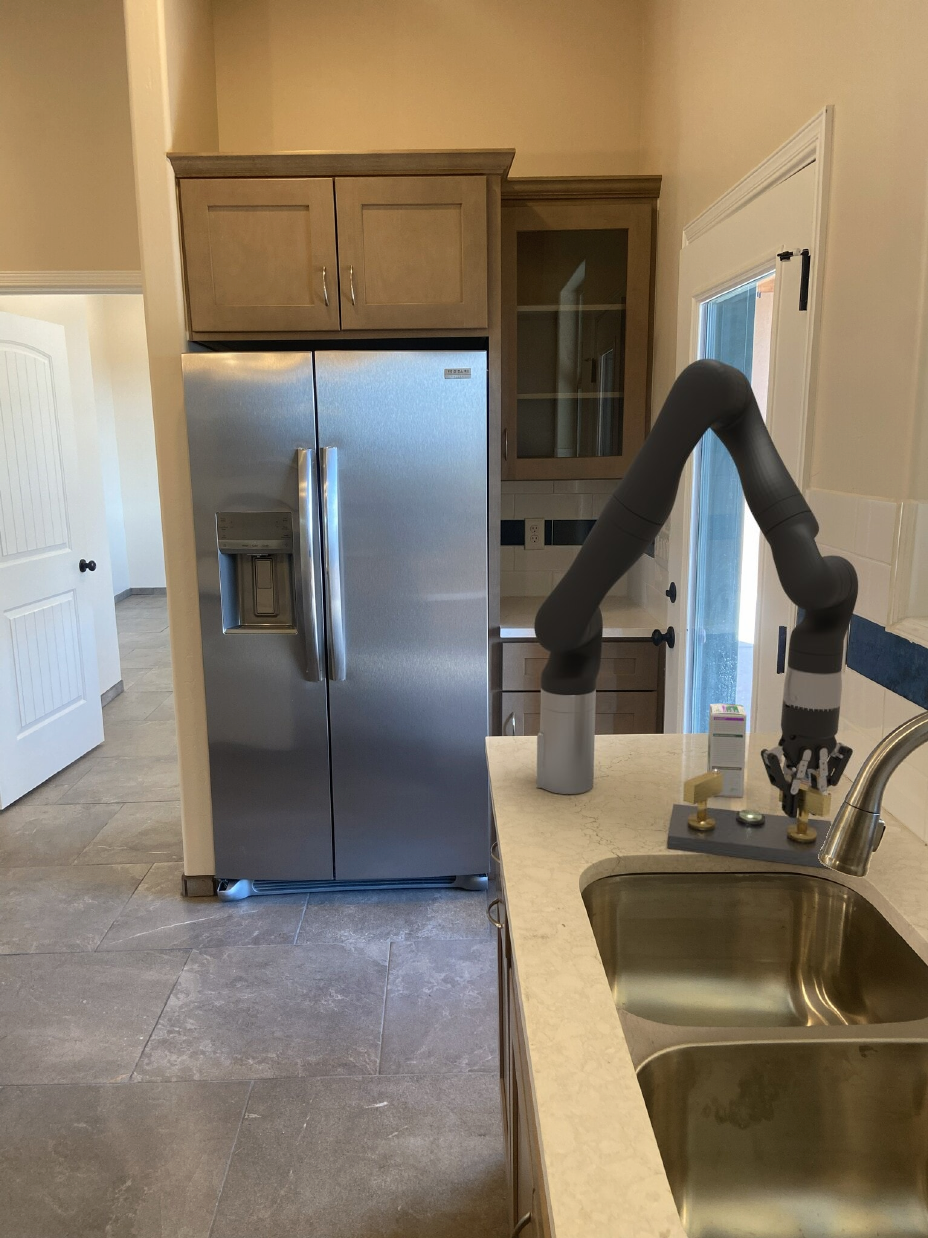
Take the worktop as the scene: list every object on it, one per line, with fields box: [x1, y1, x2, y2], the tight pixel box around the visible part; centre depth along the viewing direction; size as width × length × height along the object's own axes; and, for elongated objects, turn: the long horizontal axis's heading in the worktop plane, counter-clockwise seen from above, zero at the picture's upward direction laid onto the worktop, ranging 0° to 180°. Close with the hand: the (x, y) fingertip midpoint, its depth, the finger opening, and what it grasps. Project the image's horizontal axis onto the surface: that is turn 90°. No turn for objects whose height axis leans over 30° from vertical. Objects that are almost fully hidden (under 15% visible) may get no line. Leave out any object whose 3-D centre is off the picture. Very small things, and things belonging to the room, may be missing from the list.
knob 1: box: [682, 769, 723, 830], centre depth 132 cm, size 7×4×8 cm, turn 130°
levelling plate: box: [666, 803, 832, 869], centre depth 132 cm, size 23×12×3 cm, turn 73°
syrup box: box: [706, 703, 747, 799], centre depth 150 cm, size 6×6×14 cm
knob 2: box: [778, 783, 832, 842], centre depth 128 cm, size 7×4×8 cm, turn 36°
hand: (801, 814), depth 128 cm, fingers open, 3 cm apart
